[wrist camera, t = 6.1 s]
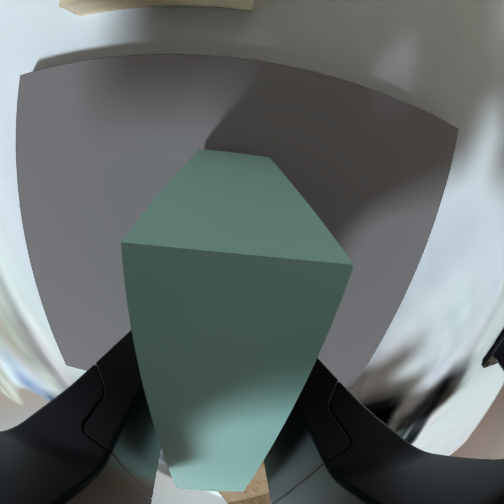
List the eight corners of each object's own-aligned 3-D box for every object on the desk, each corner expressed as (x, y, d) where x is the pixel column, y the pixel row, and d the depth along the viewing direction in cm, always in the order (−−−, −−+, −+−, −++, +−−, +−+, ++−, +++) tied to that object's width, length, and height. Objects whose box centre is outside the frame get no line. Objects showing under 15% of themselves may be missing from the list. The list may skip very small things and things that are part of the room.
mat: (448, 126, 8) (458, 128, 8) (349, 379, 14) (352, 387, 14) (29, 75, 6) (20, 75, 5) (69, 357, 12) (66, 365, 12)
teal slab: (269, 157, 8) (353, 264, 2) (236, 355, 11) (243, 491, 6) (198, 148, 7) (120, 242, 2) (188, 351, 11) (176, 487, 6)
